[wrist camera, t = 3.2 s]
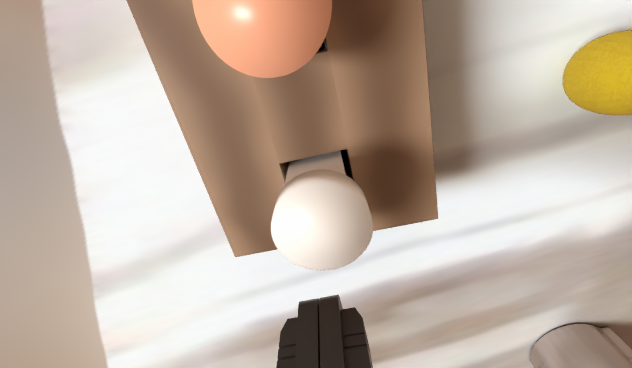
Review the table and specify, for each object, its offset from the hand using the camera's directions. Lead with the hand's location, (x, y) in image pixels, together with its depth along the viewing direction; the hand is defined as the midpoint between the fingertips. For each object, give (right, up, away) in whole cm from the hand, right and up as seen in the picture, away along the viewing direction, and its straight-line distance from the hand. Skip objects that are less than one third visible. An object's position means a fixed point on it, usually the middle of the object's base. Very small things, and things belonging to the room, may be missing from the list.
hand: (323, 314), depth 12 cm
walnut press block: (-1, +13, +14) cm, 19 cm away
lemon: (+21, +14, +14) cm, 29 cm away
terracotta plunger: (-2, +16, +8) cm, 18 cm away
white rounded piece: (0, +6, +13) cm, 14 cm away
